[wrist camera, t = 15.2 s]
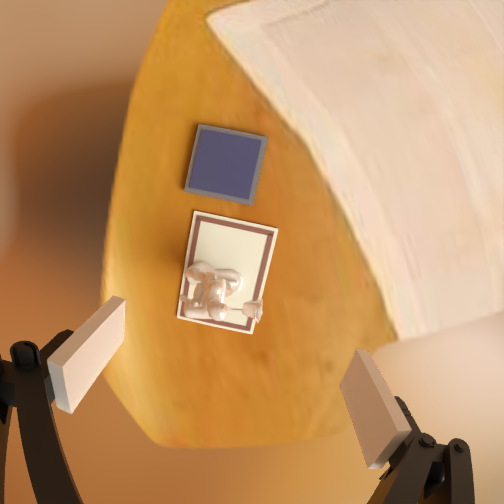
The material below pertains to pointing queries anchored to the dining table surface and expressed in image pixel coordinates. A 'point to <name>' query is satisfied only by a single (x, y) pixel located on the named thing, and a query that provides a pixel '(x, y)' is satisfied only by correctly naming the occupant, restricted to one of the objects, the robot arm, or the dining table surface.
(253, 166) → the ink pad
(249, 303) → the figurine
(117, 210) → the dining table surface
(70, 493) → the robot arm
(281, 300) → the dining table surface
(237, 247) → the print sheet
